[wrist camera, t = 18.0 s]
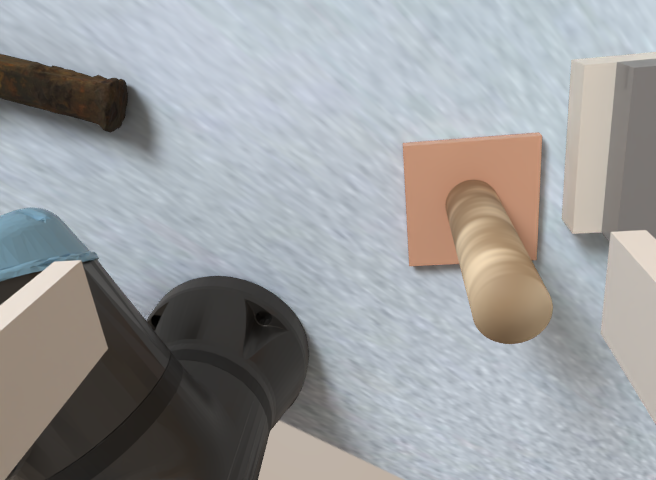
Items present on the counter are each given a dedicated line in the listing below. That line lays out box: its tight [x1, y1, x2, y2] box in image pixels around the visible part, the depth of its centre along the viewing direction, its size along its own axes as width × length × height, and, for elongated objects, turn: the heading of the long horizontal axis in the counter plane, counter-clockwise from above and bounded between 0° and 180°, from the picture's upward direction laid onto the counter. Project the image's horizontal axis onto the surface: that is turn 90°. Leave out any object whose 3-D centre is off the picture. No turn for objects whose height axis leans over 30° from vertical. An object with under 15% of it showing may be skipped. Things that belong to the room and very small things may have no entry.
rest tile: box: [403, 133, 542, 266], centre depth 44 cm, size 10×10×1 cm
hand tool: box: [0, 54, 128, 132], centre depth 42 cm, size 19×4×5 cm, turn 74°
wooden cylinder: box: [445, 180, 553, 344], centre depth 37 cm, size 4×4×16 cm
